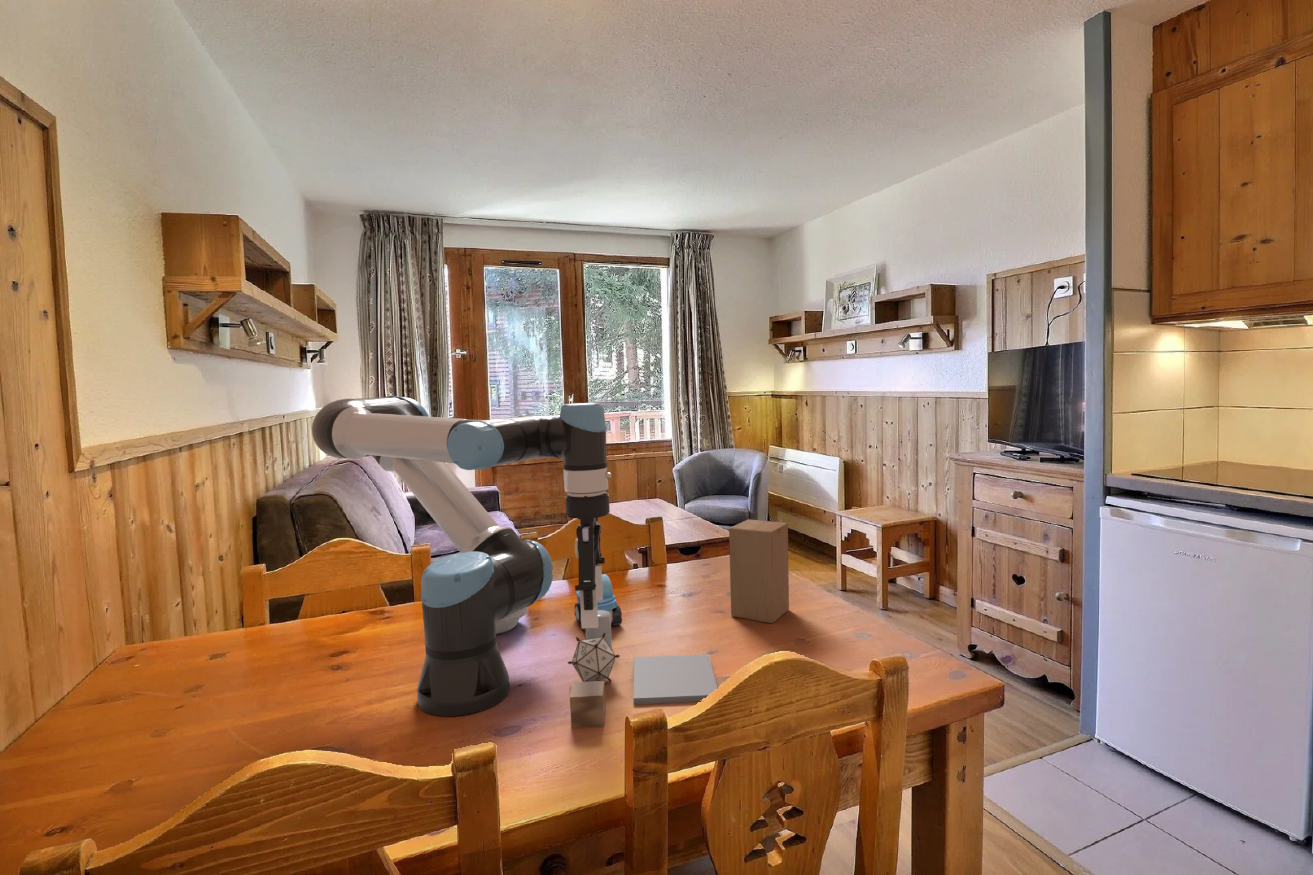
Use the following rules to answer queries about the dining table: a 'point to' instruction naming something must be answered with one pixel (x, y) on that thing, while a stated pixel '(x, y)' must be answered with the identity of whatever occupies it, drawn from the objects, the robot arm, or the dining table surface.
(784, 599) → the wooden block
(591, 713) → the walnut block
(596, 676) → the game die
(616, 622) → the toy excavator
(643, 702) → the slate board
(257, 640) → the dining table surface
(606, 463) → the robot arm
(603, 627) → the grey cylinder
